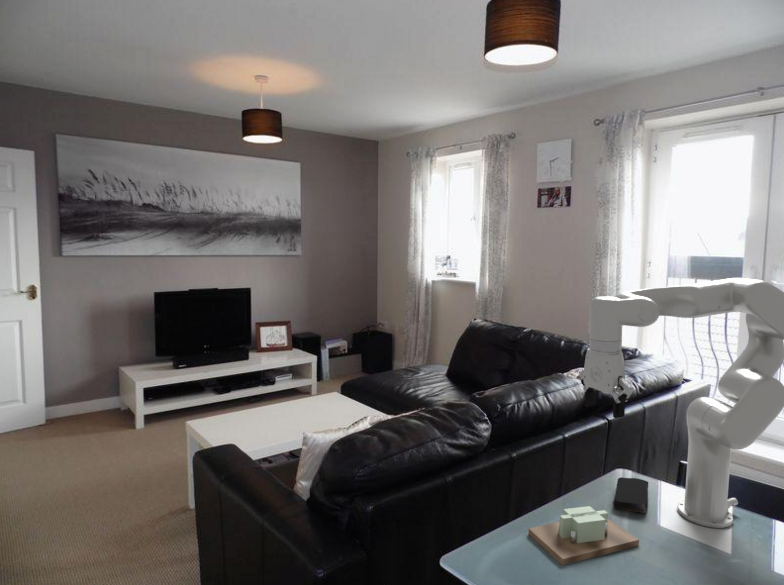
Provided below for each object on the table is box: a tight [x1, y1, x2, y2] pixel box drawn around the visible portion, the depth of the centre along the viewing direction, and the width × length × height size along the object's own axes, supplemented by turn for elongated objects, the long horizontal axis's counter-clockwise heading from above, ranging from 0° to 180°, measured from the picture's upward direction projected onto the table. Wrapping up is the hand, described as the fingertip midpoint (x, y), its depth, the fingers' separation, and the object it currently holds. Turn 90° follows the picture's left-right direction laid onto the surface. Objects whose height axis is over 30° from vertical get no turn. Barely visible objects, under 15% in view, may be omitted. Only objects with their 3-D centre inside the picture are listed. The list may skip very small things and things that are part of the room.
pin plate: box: [527, 517, 640, 566], centre depth 127 cm, size 22×13×4 cm, turn 110°
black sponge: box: [612, 477, 649, 513], centre depth 146 cm, size 16×8×4 cm, turn 153°
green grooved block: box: [559, 505, 609, 543], centre depth 126 cm, size 12×6×5 cm, turn 102°
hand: (604, 411), depth 134 cm, fingers open, 9 cm apart
